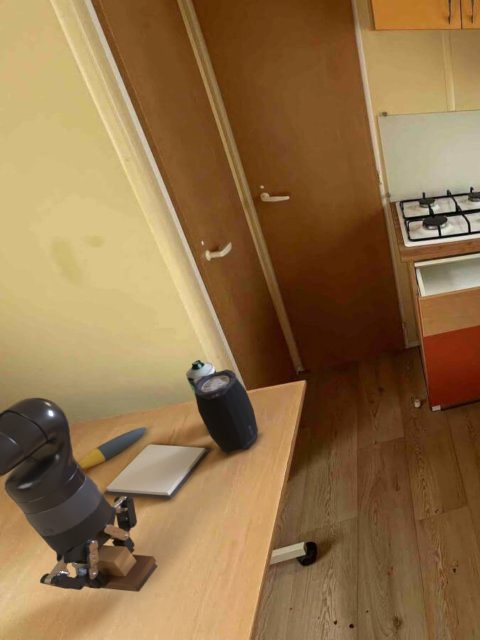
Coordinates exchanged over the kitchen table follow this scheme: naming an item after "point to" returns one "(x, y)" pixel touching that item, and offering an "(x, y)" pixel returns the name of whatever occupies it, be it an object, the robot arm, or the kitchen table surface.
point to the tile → (157, 472)
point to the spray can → (199, 372)
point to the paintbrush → (111, 448)
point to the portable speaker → (226, 411)
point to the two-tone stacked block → (124, 568)
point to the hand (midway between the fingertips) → (115, 568)
